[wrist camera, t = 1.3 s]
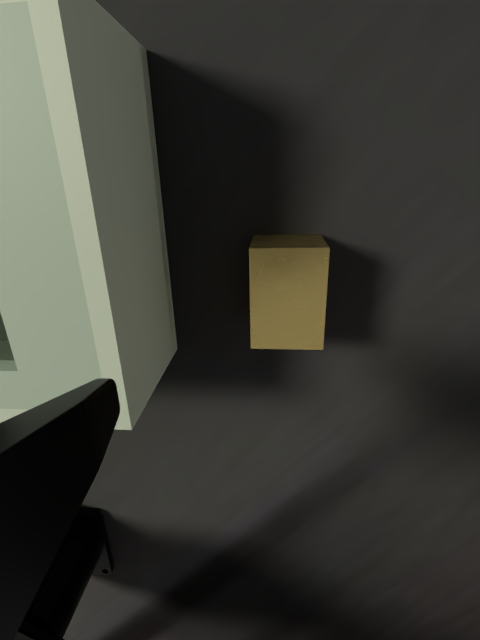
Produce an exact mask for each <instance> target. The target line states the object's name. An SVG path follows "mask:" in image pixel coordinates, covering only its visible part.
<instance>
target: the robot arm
mask: <svg viewBox="0 0 480 640" xmlns="http://www.w3.org/2000/svg"><path fill="white" fill-rule="evenodd" d="M119 414H120V403H119V397H118V392H117V386H116V383H115V381H114V380H113V379H110V378H98V379H95V380H93V381H90V382H88V383H86V384H84V385H82V386H80V387H77V388H75V389H73V390H71V391H69V392H66V393H64V394H62V395H60V396H58V397H56V398H53V399H51V400H49V401H47V402H45V403H43V404H40V405H38V406H36V407H34V408H32V409H29V410H27V411H25V412H23V413H21V414H19V415H16V416H14V417H12V418H10V419H8V420H6V421H3V422H1V423H0V640H64V639H62V638H63V636H64V634H65V632H66V630H67V627H68V625H69V623H70V621H71V619H72V617H73V614H74V612H75V610H76V608H77V606H78V603H79V601H80V599H81V597H82V595H83V593H84V590H85V588H86V586H87V584H88V582H89V579H90V577H91V575H102V576H109V575H111V574H112V571H113V569H114V566H113V561H112V557H111V553H110V549H109V544H108V540H107V536H106V532H105V528H104V523H103V519H102V515H101V513H100V512H99V511H97V510H94V509H79V508H80V506H81V504H82V502H83V500H84V498H85V496H86V494H87V492H88V490H89V488H90V486H91V485H92V483H93V481H94V479H95V476H96V474H97V472H98V470H99V468H100V465H101V463H102V461H103V458H104V455H105V453H106V450H107V447H108V445H109V442H110V439H111V436H112V434H113V431H114V428H115V426H116V423H117V420H118V418H119Z"/></svg>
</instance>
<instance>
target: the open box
mask: <svg viewBox="0 0 480 640" xmlns="http://www.w3.org/2000/svg"><path fill="white" fill-rule="evenodd" d="M176 350H177V340H176V331H175V321H174V312H173V302H172V292H171V283H170V273H169V264H168V254H167V244H166V235H165V225H164V216H163V206H162V196H161V187H160V177H159V168H158V158H157V148H156V139H155V129H154V119H153V110H152V100H151V91H150V81H149V71H148V62H147V52H146V49H145V48H144V47H143V46H142V45H141V44H140V43H139V42H138V41H137V40H136V39H135V38H134V37H133V36H132V35H131V34H130V33H129V32H128V31H126V30H125V29H124V28H123V27H122V26H121V25H120V24H119V23H118V22H117V21H116V20H115V19H114V18H113V17H112V16H111V15H110V14H109V13H108V12H107V11H106V10H105V9H104V8H103V7H102V6H101V5H99V4H98V3H97V2H96V1H95V0H0V423H1V422H3V421H6V420H8V419H10V418H12V417H14V416H16V415H19V414H21V413H23V412H25V411H27V410H29V409H32V408H34V407H36V406H38V405H40V404H43V403H45V402H47V401H49V400H51V399H53V398H56V397H58V396H60V395H62V394H64V393H66V392H69V391H71V390H73V389H75V388H77V387H80V386H82V385H84V384H86V383H88V382H90V381H93V380H95V379H98V378H110V379H113V380H114V381H115V383H116V386H117V392H118V397H119V403H120V414H119V418H118V420H117V423H116V426H115V428H114V429H117V430H132V429H133V427H134V425H135V424H136V422H137V420H138V418H139V416H140V415H141V413H142V411H143V409H144V407H145V406H146V404H147V402H148V400H149V399H150V397H151V395H152V393H153V391H154V390H155V388H156V386H157V384H158V382H159V381H160V379H161V377H162V375H163V374H164V372H165V370H166V368H167V366H168V365H169V363H170V361H171V359H172V357H173V356H174V354H175V352H176Z"/></svg>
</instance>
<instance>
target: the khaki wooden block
mask: <svg viewBox="0 0 480 640" xmlns="http://www.w3.org/2000/svg"><path fill="white" fill-rule="evenodd" d="M329 254H330V247H329V246H328V244H327V243H326V242H325V240H324V239H323V238H322V236H321V235H320V234H298V235H254V236H253V238H252V241H251V244H250V247H249V279H250V334H251V349H303V350H323V345H324V329H325V314H326V299H327V284H328V269H329Z"/></svg>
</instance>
